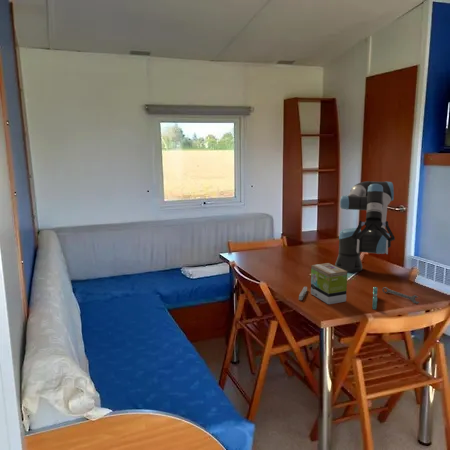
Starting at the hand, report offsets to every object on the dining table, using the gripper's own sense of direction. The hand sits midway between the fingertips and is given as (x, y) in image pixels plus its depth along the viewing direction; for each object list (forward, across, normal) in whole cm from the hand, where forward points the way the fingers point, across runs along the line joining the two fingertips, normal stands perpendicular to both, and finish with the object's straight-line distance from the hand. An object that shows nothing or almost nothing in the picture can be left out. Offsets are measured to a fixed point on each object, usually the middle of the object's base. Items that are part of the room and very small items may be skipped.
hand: (372, 253), depth 206 cm
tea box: (+27, -17, -12) cm, 34 cm away
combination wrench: (+22, +13, 0) cm, 25 cm away
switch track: (+26, -12, -11) cm, 31 cm away
